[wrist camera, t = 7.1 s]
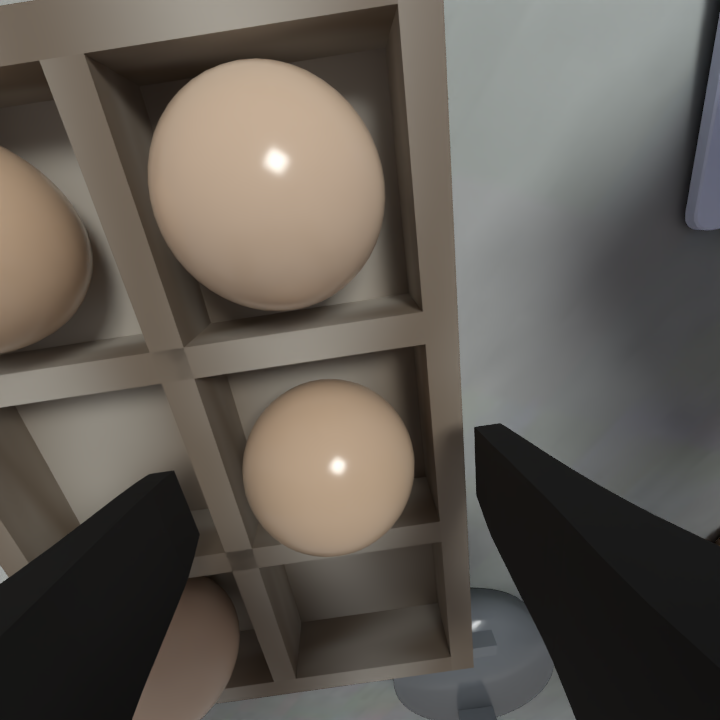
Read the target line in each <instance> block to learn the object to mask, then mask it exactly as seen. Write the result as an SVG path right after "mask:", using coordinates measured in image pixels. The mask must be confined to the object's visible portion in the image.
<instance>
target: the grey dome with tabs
mask: <svg viewBox="0 0 720 720" xmlns="http://www.w3.org/2000/svg"><path fill="white" fill-rule="evenodd" d="M470 596H471V618H472V640H473V662H474V668H467V669H460V670H453V671H446V672H439V673H432V674H425V675H418V676H410V677H403V678H396V679H394V688H395V691H396V694H397V696H398V698H399V700H400V701H401V702H402V703H403V705H404V706H406V707H407V708H408V709H409V710H411V711H412V712H414V713H416V714H418V715H420V716H422V717H425V718H428V719H431V720H497V718H496V717H498V716H501V715H504V714H507V713H509V712H511V711H514V710H516V709H517V708H519V707H521V706H523V705H524V704H526V703H528V702H529V701H530V700H532V699H533V698H534V697H536V696H537V695H538V694H539V693H540V692H541V691H542V690H543V688H544V687H545V686H546V685H547V683H548V681H549V679H550V677H551V675H552V672H553V667H554V663H553V661H552V659H551V657H550V654H549V652H548V650H547V648H546V646H545V644H544V641H543V639H542V637H541V635H540V633H539V631H538V629H537V627H536V625H535V623H534V621H533V619H532V617H531V615H530V613H529V611H528V609H527V607H526V605H525V603H524V602H523V601H521V600H520V599H518V598H517V597H515V596H512V595H510V594H508V593H505V592H502V591H497V590H492V589H483V588H470Z"/></svg>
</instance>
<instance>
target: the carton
mask: <svg viewBox="0 0 720 720" xmlns="http://www.w3.org/2000/svg"><path fill="white" fill-rule="evenodd" d="M254 58H258V59H271V60H277V61H281V62H285V63H289V64H292V65H295V66H297V67H300V68H302V69H304V70H307V71H309V72H310V73H312V74H314V75H316V76H317V77H319V78H321V79H322V80H324V81H325V82H326V83H328V84H329V85H330V86H331V87H333V88H334V89H335V90H337V91H338V92H339V93H340V94H341V95H342V96H343V97H344V98H345V99H346V100H347V101H348V102H349V103H350V104H351V105H352V107H353V108H354V109H355V111H356V112H357V113H358V115H359V116H360V117H361V119H362V120H363V122H364V124H365V126H366V127H367V129H368V131H369V132H370V134H371V137H372V139H373V141H374V144H375V146H376V148H377V151H378V155H379V158H380V162H381V165H382V170H383V176H384V183H385V208H384V217H383V222H382V227H381V231H380V234H379V237H378V240H377V243H376V245H375V247H374V249H373V251H372V253H371V256H370V257H369V259H368V260H367V262H366V264H365V265H364V267H363V268H362V269H361V271H360V272H359V273H358V274H357V275H356V277H355V278H354V279H353V280H352V281H351V282H350V283H349V284H347V285H346V286H345V287H344V288H343V289H342V290H340V291H339V292H337V293H336V294H334V295H333V296H331V297H329V298H327V299H325V300H323V301H321V302H319V303H316V304H314V305H311V306H308V307H305V308H300V309H296V310H288V311H265V310H259V309H253V308H249V307H246V306H242V305H239V304H237V303H234V302H232V301H230V300H227V299H225V298H223V297H221V296H219V295H218V294H216V293H214V292H212V291H211V290H209V289H208V288H207V287H205V286H204V285H202V284H201V283H200V282H198V281H197V280H196V279H195V278H194V277H193V276H192V275H191V274H190V273H189V272H188V271H187V270H186V269H185V268H184V267H183V266H182V264H181V263H180V262H179V261H178V260H177V259H176V257H175V256H174V254H173V253H172V251H171V250H170V248H169V247H168V245H167V243H166V241H165V239H164V238H163V236H162V234H161V232H160V229H159V227H158V224H157V222H156V219H155V217H154V213H153V209H152V205H151V202H150V196H149V188H148V158H149V150H150V146H151V142H152V138H153V134H154V131H155V129H156V126H157V124H158V121H159V119H160V117H161V115H162V114H163V112H164V110H165V109H166V107H167V105H168V104H169V102H170V101H171V100H172V99H173V97H174V96H175V95H176V94H177V92H178V91H179V90H180V89H181V88H183V87H184V86H185V85H186V84H187V83H188V82H189V81H190V80H192V79H193V78H195V77H196V76H198V75H200V74H201V73H203V72H204V71H206V70H209V69H211V68H213V67H216V66H218V65H220V64H223V63H227V62H232V61H236V60H241V59H254ZM0 146H2V147H4V148H6V149H7V150H9V151H11V152H13V153H14V154H16V155H18V156H19V157H21V158H22V159H24V160H26V161H27V162H29V163H30V164H31V165H33V166H34V167H35V168H37V169H38V170H39V171H41V172H42V173H43V174H44V175H45V176H46V177H47V178H48V179H50V180H51V181H52V182H53V183H54V184H55V185H56V186H57V187H58V188H59V189H60V191H61V192H62V193H63V194H64V195H65V196H66V197H67V199H68V200H69V201H70V203H71V204H72V205H73V207H74V208H75V210H76V211H77V213H78V215H79V216H80V218H81V220H82V222H83V224H84V226H85V229H86V231H87V234H88V237H89V240H90V244H91V249H92V255H93V272H92V278H91V282H90V286H89V290H88V292H87V295H86V297H85V299H84V301H83V302H82V304H81V306H80V307H79V309H78V310H77V312H76V313H75V314H74V315H73V316H72V317H71V319H70V320H69V321H67V322H66V323H65V324H64V325H63V326H62V327H60V328H59V329H58V330H57V331H55V332H54V333H52V334H51V335H49V336H47V337H45V338H43V339H42V340H40V341H38V342H36V343H34V344H31V345H29V346H26V347H23V348H20V349H17V350H15V351H11V352H6V353H1V354H0V565H1V567H2V568H3V570H4V571H5V572H6V574H7V575H8V577H11V576H12V575H13V574H15V573H16V572H17V571H19V570H20V569H21V568H23V567H24V566H26V565H27V564H28V563H30V562H31V561H32V560H34V559H35V558H37V557H38V556H39V555H41V554H42V553H43V552H45V551H46V550H48V549H49V548H50V547H52V546H53V545H54V544H56V543H57V542H58V541H60V540H61V539H62V538H64V537H65V536H66V535H67V534H69V533H70V532H71V531H73V530H74V529H75V528H77V527H78V526H79V525H80V524H82V523H83V522H84V521H86V520H87V519H88V518H90V517H91V516H92V515H94V514H95V513H96V512H97V511H99V510H100V509H101V508H103V507H104V506H105V505H107V504H108V503H109V502H110V501H112V500H113V499H114V498H116V497H117V496H118V495H120V494H121V493H122V492H124V491H125V490H126V489H128V488H129V487H131V486H132V485H133V484H135V483H136V482H138V481H139V480H141V479H142V478H144V477H145V476H147V475H148V474H152V473H159V472H166V471H173V470H174V472H175V474H176V476H177V479H178V481H179V484H180V486H181V489H182V491H183V494H184V496H185V499H186V501H187V504H188V506H189V509H190V511H191V514H192V516H193V519H194V521H195V523H196V526H197V528H198V531H199V533H200V536H199V540H198V544H197V548H196V552H195V556H194V560H193V563H192V567H191V570H190V574H189V577H188V578H193V577H199V576H205V577H207V578H209V579H211V580H213V581H214V582H216V583H217V584H218V585H220V586H221V587H222V588H223V589H224V590H225V591H226V593H227V594H228V596H229V597H230V598H231V600H232V602H233V605H234V607H235V609H236V612H237V616H238V620H239V630H240V641H239V650H238V656H237V660H236V663H235V667H234V670H233V673H232V675H231V677H230V680H229V682H228V684H227V686H226V687H225V689H224V691H223V693H222V695H221V696H220V698H219V699H218V700H217V702H216V703H215V704H218V703H225V702H232V701H239V700H246V699H253V698H261V697H268V696H275V695H282V694H289V693H296V692H303V691H311V690H318V689H325V688H332V687H339V686H346V685H353V684H360V683H368V682H375V681H382V680H389V679H396V678H403V677H410V676H418V675H425V674H432V673H439V672H446V671H453V670H460V669H467V668H474V662H473V640H472V618H471V596H470V574H469V552H468V530H467V508H466V486H465V464H464V442H463V420H462V398H461V376H460V354H459V332H458V310H457V288H456V266H455V244H454V222H453V200H452V178H451V156H450V134H449V112H448V90H447V68H446V46H445V24H444V2H443V0H33V1H27V2H21V3H14V4H8V5H2V6H0ZM320 379H341V380H346V381H351V382H354V383H358V384H361V385H363V386H365V387H367V388H369V389H371V390H372V391H374V392H376V393H377V394H379V395H380V396H381V397H383V398H384V399H385V400H386V401H387V402H388V403H389V404H390V405H391V406H392V407H393V408H394V409H395V411H396V412H397V413H398V415H399V416H400V418H401V419H402V420H403V422H404V425H405V427H406V429H407V431H408V433H409V436H410V439H411V442H412V447H413V452H414V459H415V464H414V480H413V486H412V490H411V494H410V496H409V499H408V502H407V504H406V506H405V508H404V510H403V512H402V514H401V515H400V517H399V518H398V520H397V521H396V522H395V524H394V525H393V526H392V527H391V528H390V530H389V531H388V532H387V533H386V534H384V535H383V536H382V537H381V538H380V539H378V540H377V541H376V542H374V543H373V544H371V545H369V546H368V547H366V548H364V549H362V550H359V551H357V552H354V553H351V554H347V555H342V556H336V557H318V556H311V555H307V554H303V553H300V552H297V551H294V550H292V549H290V548H288V547H286V546H284V545H283V544H281V543H280V542H279V541H277V540H276V539H275V538H273V537H272V536H271V535H270V534H269V533H268V532H267V531H266V530H265V529H264V528H263V527H262V525H261V524H260V523H259V521H258V520H257V518H256V517H255V515H254V513H253V512H252V510H251V507H250V505H249V503H248V500H247V497H246V494H245V489H244V484H243V474H242V466H243V456H244V450H245V446H246V443H247V440H248V436H249V434H250V432H251V430H252V428H253V426H254V424H255V422H256V421H257V419H258V418H259V416H260V415H261V413H262V412H263V411H264V410H265V409H266V408H267V407H268V406H269V405H270V403H271V402H272V401H274V400H275V399H276V398H277V397H279V396H280V395H281V394H283V393H285V392H286V391H288V390H290V389H291V388H293V387H295V386H298V385H300V384H303V383H306V382H309V381H314V380H320Z"/></svg>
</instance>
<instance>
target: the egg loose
mask: <svg viewBox="0 0 720 720" xmlns="http://www.w3.org/2000/svg"><path fill="white" fill-rule="evenodd" d="M414 464H415V459H414V452H413V447H412V442H411V439H410V436H409V433H408V431H407V429H406V427H405V425H404V422H403V420H402V419H401V418H400V416H399V415H398V413H397V412H396V411H395V409H394V408H393V407H392V406H391V405H390V404H389V403H388V402H387V401H386V400H385V399H384V398H383V397H381V396H380V395H379V394H377V393H376V392H374V391H372V390H371V389H369V388H367V387H365V386H363V385H361V384H358V383H354V382H351V381H346V380H341V379H320V380H314V381H309V382H306V383H303V384H300V385H298V386H295V387H293V388H291V389H290V390H288V391H286V392H285V393H283V394H281V395H280V396H279V397H277V398H276V399H275V400H274V401H272V402H271V403H270V405H269V406H268V407H267V408H266V409H265V410H264V411H263V412H262V413H261V415H260V416H259V418H258V419H257V421H256V422H255V424H254V426H253V428H252V430H251V432H250V434H249V436H248V440H247V443H246V446H245V450H244V456H243V466H242V474H243V484H244V489H245V494H246V497H247V500H248V503H249V505H250V507H251V510H252V512H253V513H254V515H255V517H256V518H257V520H258V521H259V523H260V524H261V525H262V527H263V528H264V529H265V530H266V531H267V532H268V533H269V534H270V535H271V536H272V537H273V538H275V539H276V540H277V541H279V542H280V543H281V544H283V545H284V546H286V547H288V548H290V549H292V550H294V551H297V552H300V553H303V554H307V555H311V556H318V557H336V556H342V555H347V554H351V553H354V552H357V551H359V550H362V549H364V548H366V547H368V546H369V545H371V544H373V543H374V542H376V541H377V540H378V539H380V538H381V537H382V536H383V535H384V534H386V533H387V532H388V531H389V530H390V528H391V527H392V526H393V525H394V524H395V522H396V521H397V520H398V518H399V517H400V515H401V514H402V512H403V510H404V508H405V506H406V504H407V502H408V499H409V496H410V494H411V490H412V486H413V480H414Z"/></svg>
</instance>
